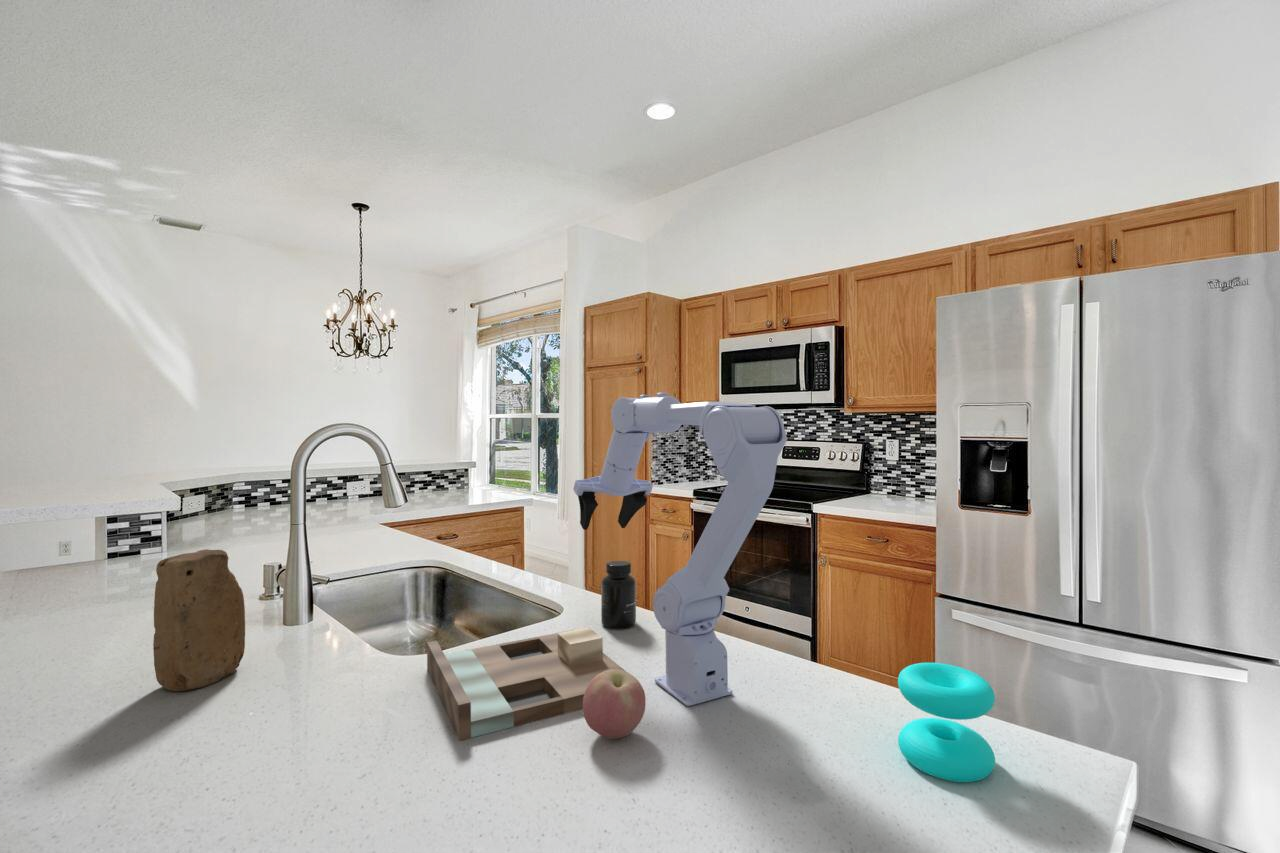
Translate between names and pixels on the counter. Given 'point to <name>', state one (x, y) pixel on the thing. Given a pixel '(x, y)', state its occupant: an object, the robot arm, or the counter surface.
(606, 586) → the supplement bottle
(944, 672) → the donuts
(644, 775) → the counter surface
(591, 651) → the beech block
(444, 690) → the board
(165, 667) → the block
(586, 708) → the apple
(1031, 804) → the counter surface
